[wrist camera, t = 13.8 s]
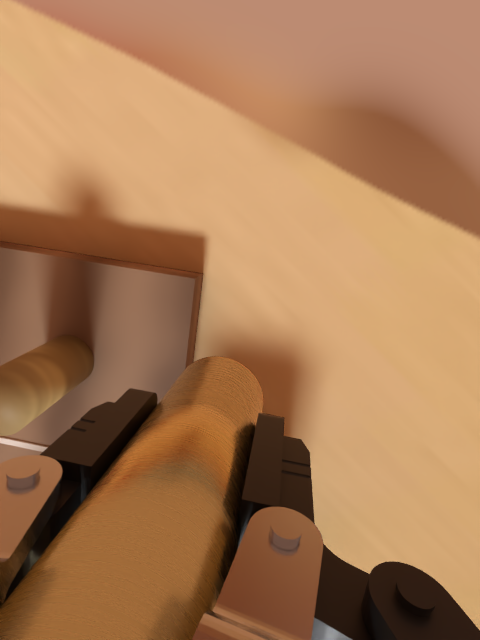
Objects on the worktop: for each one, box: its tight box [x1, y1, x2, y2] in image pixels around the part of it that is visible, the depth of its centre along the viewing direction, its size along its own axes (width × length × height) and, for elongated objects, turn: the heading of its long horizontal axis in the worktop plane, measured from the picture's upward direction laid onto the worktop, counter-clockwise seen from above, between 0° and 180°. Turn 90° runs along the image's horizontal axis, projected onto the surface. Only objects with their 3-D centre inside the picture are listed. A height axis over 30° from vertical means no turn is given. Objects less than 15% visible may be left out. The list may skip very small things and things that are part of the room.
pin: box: [0, 356, 263, 640], centre depth 9 cm, size 3×3×9 cm
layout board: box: [0, 241, 203, 463], centre depth 23 cm, size 14×26×8 cm, turn 172°
